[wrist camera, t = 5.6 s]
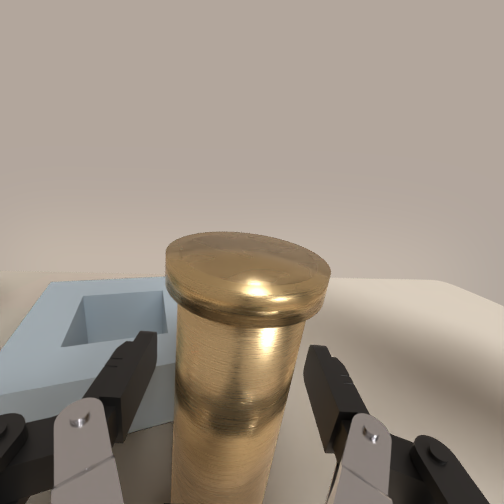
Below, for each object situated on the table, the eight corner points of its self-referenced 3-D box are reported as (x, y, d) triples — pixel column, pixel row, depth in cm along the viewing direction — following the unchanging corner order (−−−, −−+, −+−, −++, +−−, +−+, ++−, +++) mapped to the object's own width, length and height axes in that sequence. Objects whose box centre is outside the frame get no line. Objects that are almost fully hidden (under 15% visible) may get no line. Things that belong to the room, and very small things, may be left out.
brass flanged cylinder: (245, 434, 16) (280, 233, 12) (285, 547, 12) (369, 285, 7) (159, 463, 14) (160, 230, 10) (165, 616, 9) (175, 303, 5)
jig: (187, 314, 28) (189, 275, 26) (212, 410, 17) (218, 354, 16) (58, 329, 23) (50, 282, 21) (-13, 472, 13) (-37, 401, 11)
